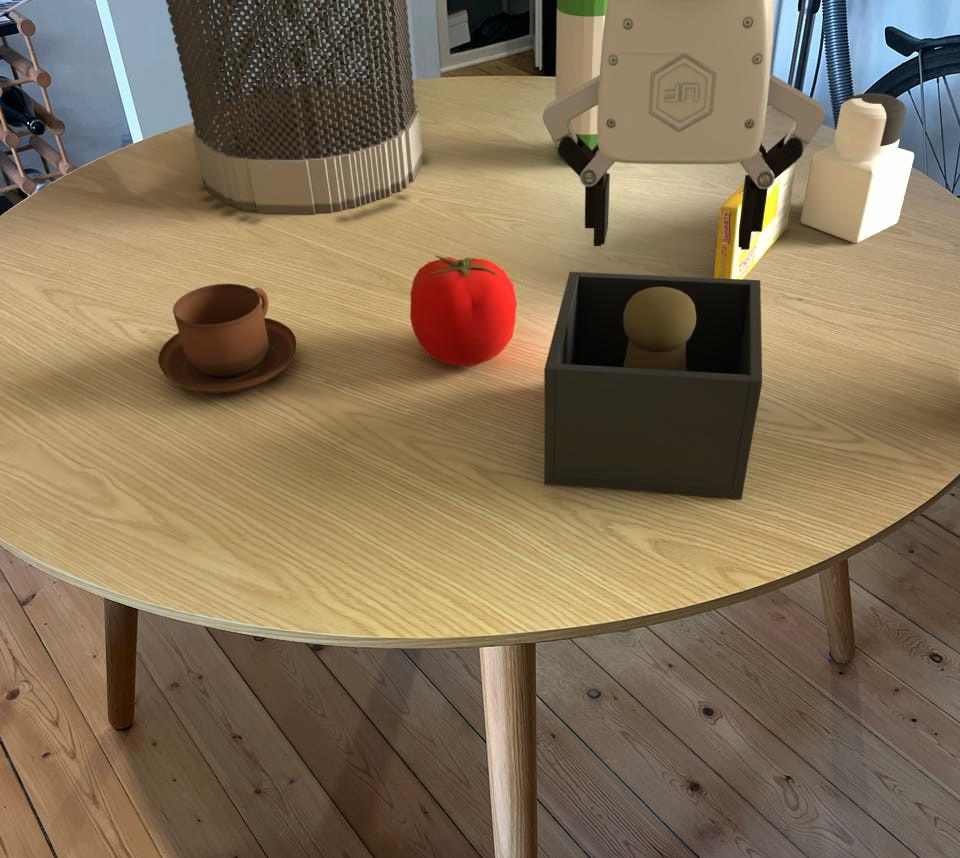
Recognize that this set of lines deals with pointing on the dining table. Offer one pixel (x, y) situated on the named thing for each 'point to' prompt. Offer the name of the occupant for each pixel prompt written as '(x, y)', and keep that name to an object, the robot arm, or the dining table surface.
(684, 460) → the bin
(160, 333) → the dining table surface
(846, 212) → the medicine bottle
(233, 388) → the cup and saucer
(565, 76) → the wine bottle
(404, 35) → the wastebasket
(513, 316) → the tomato
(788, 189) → the candy box
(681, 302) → the brown pawn
